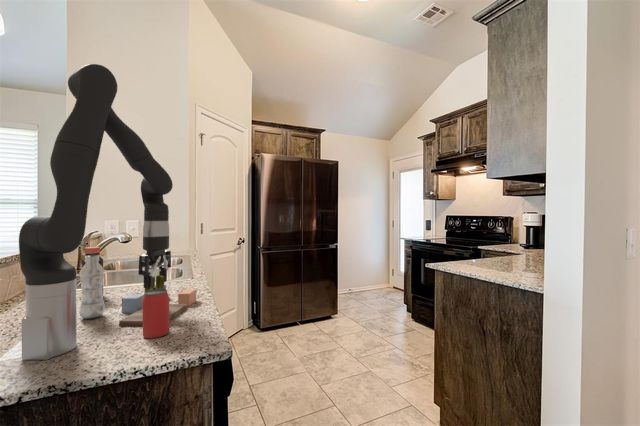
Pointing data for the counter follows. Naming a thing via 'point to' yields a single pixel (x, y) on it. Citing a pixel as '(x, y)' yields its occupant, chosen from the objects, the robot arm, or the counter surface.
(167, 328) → the beer can
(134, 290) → the counter surface
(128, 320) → the walnut board
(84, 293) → the plastic bottle
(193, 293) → the terracotta block
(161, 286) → the fennel bulb
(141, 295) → the smoky blue cube
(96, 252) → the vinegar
